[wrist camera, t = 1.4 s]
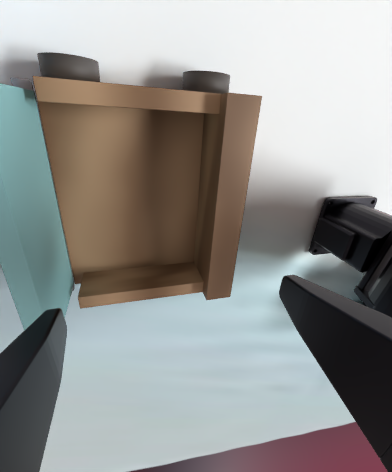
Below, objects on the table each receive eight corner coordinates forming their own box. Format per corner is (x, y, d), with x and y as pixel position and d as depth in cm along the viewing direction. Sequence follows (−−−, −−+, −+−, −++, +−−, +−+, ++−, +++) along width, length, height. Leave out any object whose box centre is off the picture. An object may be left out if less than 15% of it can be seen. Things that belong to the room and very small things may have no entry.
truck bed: (226, 80, 17) (266, 69, 13) (207, 270, 25) (228, 308, 20) (36, 59, 14) (-7, 33, 9) (80, 284, 21) (68, 333, 17)
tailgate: (34, 80, 13) (-35, 57, 7) (75, 284, 19) (56, 359, 14) (13, 79, 13) (-77, 52, 7) (62, 286, 19) (36, 363, 13)
